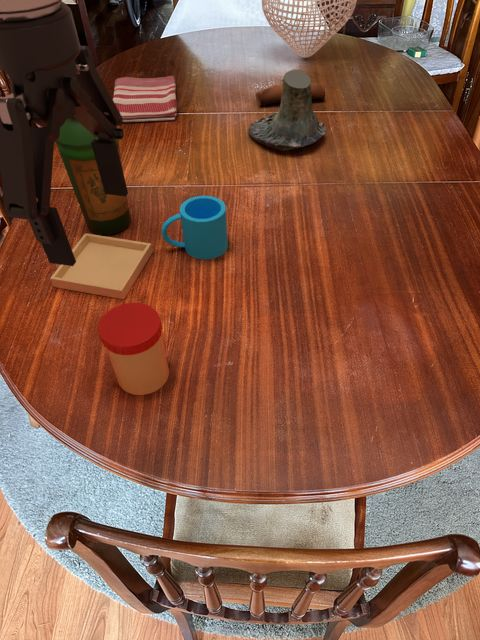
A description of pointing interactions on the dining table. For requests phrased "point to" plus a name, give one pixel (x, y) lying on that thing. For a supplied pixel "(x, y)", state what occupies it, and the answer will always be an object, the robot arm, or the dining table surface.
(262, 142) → the tree stump
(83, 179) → the bottle
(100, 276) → the tray
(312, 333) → the dining table surface
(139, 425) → the dining table surface
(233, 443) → the dining table surface
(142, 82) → the dish towel
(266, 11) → the heart
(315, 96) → the sunglasses case
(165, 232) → the mug
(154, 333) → the lid
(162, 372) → the jar
